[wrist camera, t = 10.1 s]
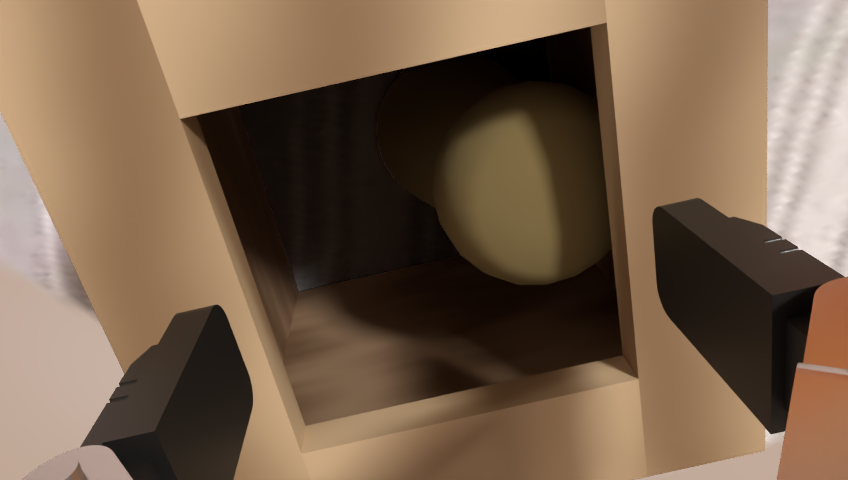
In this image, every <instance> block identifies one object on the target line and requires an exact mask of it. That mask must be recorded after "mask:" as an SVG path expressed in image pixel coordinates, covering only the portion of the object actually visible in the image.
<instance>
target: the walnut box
mask: <svg viewBox="0 0 848 480" xmlns="http://www.w3.org/2000/svg"><path fill="white" fill-rule="evenodd" d="M541 37H546V45H547V53H548V61H549V69H550V77H551V82H555V83H562V84H567V85H570V86H572V87H574V88H576V89H579V90H581V91H583V92H585V93H588V94H590V95H592V96H594V97H596V98H597V100H598V110H599V120H600V130H601V140H602V151H603V161H604V171H605V181H606V191H607V201H608V211H609V221H610V231H611V241H612V248H611V250H610V251H609V252H608V253H607V254H606V255H605V256H604V257H603V259H601V260H600V261H598V262H597V263H595V264H594V265H592V266H591V267H589V268H587V269H586V270H584V271H583V272H581V273H580V274H578V275H576V276H574V277H571V278H568V279H564V280H561V281H558V282H555V283H551V284H548V285H517V284H514V283H511V282H508V281H505V280H502V279H499V278H496V277H493V276H490V275H488V274H485V273H483V272H482V271H480V270H479V269H478V268H476V267H475V266H474V265H473V264H471V263H470V262H469V261H467V260H466V259H465V258H464V257H462V256H461V255H460V256H455V257H451V258H446V259H442V260H437V261H433V262H429V263H424V264H420V265H415V266H411V267H406V268H402V269H397V270H393V271H388V272H384V273H379V274H375V275H370V276H366V277H361V278H357V279H353V280H348V281H344V282H339V283H335V284H330V285H326V286H321V287H317V288H312V289H308V290H303V291H299V292H298V289H297V286H296V283H295V280H294V277H293V273H292V270H291V267H290V264H289V261H288V258H287V255H286V252H285V249H284V246H283V243H282V239H281V236H280V233H279V230H278V227H277V224H276V221H275V218H274V215H273V212H272V209H271V205H270V202H269V199H268V196H267V193H266V190H265V187H264V184H263V181H262V178H261V174H260V171H259V168H258V165H257V162H256V159H255V156H254V153H253V150H252V147H251V144H250V140H249V137H248V134H247V131H246V128H245V125H244V122H243V119H242V116H241V113H240V110H239V105H244V104H248V103H253V102H257V101H262V100H266V99H270V98H275V97H279V96H284V95H288V94H293V93H297V92H302V91H306V90H310V89H315V88H319V87H324V86H328V85H333V84H337V83H341V82H346V81H350V80H355V79H359V78H364V77H368V76H372V75H377V74H381V73H386V72H390V71H395V70H399V69H403V68H408V67H412V66H417V65H421V64H426V63H430V62H434V61H439V60H443V59H448V58H452V57H457V56H461V55H465V54H470V53H474V52H479V51H483V50H488V49H492V48H497V47H501V46H505V45H510V44H514V43H519V42H523V41H528V40H532V39H536V38H541ZM767 54H768V0H0V112H1V114H2V116H3V118H4V120H5V122H6V125H7V127H8V129H9V131H10V133H11V135H12V137H13V139H14V141H15V144H16V146H17V148H18V150H19V152H20V154H21V156H22V158H23V160H24V163H25V165H26V167H27V169H28V171H29V173H30V175H31V177H32V179H33V182H34V184H35V186H36V188H37V190H38V192H39V194H40V196H41V198H42V201H43V203H44V205H45V207H46V209H47V211H48V213H49V215H50V217H51V220H52V222H53V224H54V226H55V228H56V230H57V232H58V234H59V236H60V239H61V241H62V243H63V245H64V247H65V249H66V251H67V253H68V255H69V258H70V260H71V262H72V264H73V266H74V268H75V270H76V272H77V274H78V277H79V279H80V281H81V283H82V285H83V287H84V289H85V291H86V293H87V296H88V298H89V300H90V302H91V304H92V306H93V308H94V310H95V313H96V315H97V317H98V319H99V321H100V323H101V325H102V327H103V329H104V331H105V334H106V336H107V338H108V340H109V342H110V344H111V346H112V348H113V351H114V352H115V355H116V357H117V359H118V361H119V363H120V365H121V367H122V370H123V372H124V374H125V373H126V371H127V370H128V368H129V366H130V365H131V364H132V363H133V362H134V361H135V360H136V359H137V358H139V357H140V356H141V355H142V354H143V353H144V352H145V351H146V350H148V349H149V348H150V347H151V346H153V345H157V344H158V343H159V341H160V340H161V338H162V336H163V334H164V333H165V331H166V329H167V327H168V326H169V324H170V322H171V320H172V319H173V317H174V315H175V314H177V313H180V312H185V311H189V310H194V309H198V308H203V307H207V306H212V305H216V304H217V305H219V306H221V307H222V308H223V310H224V312H225V313H226V315H227V318H228V320H229V323H230V326H231V328H232V331H233V334H234V336H235V339H236V341H237V344H238V347H239V349H240V352H241V355H242V357H243V360H244V362H245V365H246V368H247V370H248V373H249V376H250V380H251V384H252V390H253V408H252V412H251V416H250V420H249V423H248V427H247V431H246V435H245V438H244V442H243V446H242V450H241V453H240V457H239V461H238V465H237V468H236V472H235V476H234V479H233V480H635V479H640V478H644V477H649V476H653V475H658V474H662V473H667V472H671V471H676V470H680V469H685V468H689V467H694V466H698V465H703V464H707V463H712V462H716V461H721V460H726V459H730V458H735V457H739V456H744V455H748V454H753V453H757V452H762V451H765V427H764V426H763V425H762V424H761V422H760V421H759V420H758V419H757V418H756V417H755V416H754V414H753V413H752V412H751V411H750V410H749V409H748V408H747V406H746V405H745V404H744V403H743V402H742V401H741V400H740V398H739V397H738V396H737V395H736V394H735V393H734V392H733V390H732V389H731V388H730V387H729V386H728V385H727V384H726V382H725V381H724V380H723V379H722V378H721V377H720V376H719V374H718V373H717V372H716V371H715V370H714V369H713V368H712V366H711V365H710V364H709V363H708V362H707V361H706V360H705V358H704V357H703V356H702V355H701V354H700V353H699V352H698V350H697V349H696V348H695V347H694V346H693V345H692V344H691V342H690V341H689V340H688V339H687V338H686V337H685V336H684V334H683V333H682V332H681V331H680V330H679V329H678V328H677V326H676V325H675V324H674V323H673V322H672V321H671V320H670V318H669V317H668V316H667V314H666V313H665V311H664V309H663V306H662V304H661V301H660V298H659V294H658V290H657V282H656V268H655V254H654V240H653V225H652V216H653V212H654V209H655V208H656V207H658V206H663V205H667V204H672V203H676V202H681V201H685V200H690V199H694V198H700V199H702V200H703V201H705V202H706V203H708V204H709V205H711V206H712V207H714V208H715V209H717V210H718V211H720V212H721V213H723V214H724V215H726V216H727V217H729V218H730V217H738V218H741V219H745V220H748V221H752V222H755V223H759V224H762V225H764V226H765V227H766V214H767Z"/></svg>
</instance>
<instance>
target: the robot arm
mask: <svg viewBox="0 0 848 480" xmlns="http://www.w3.org/2000/svg"><path fill="white" fill-rule="evenodd" d="M652 225H653V240H654V254H655V268H656V282H657V290H658V294H659V298H660V301H661V304H662V306H663V309H664V311H665V313H666V314H667V316H668V317H669V318H670V320H671V321H672V322H673V323H674V324H675V325H676V326H677V328H678V329H679V330H680V331H681V332H682V333H683V334H684V336H685V337H686V338H687V339H688V340H689V341H690V342H691V344H692V345H693V346H694V347H695V348H696V349H697V350H698V352H699V353H700V354H701V355H702V356H703V357H704V358H705V360H706V361H707V362H708V363H709V364H710V365H711V366H712V368H713V369H714V370H715V371H716V372H717V373H718V374H719V376H720V377H721V378H722V379H723V380H724V381H725V382H726V384H727V385H728V386H729V387H730V388H731V389H732V390H733V392H734V393H735V394H736V395H737V396H738V397H739V398H740V400H741V401H742V402H743V403H744V404H745V405H746V406H747V408H748V409H749V410H750V411H751V412H752V413H753V414H754V416H755V417H756V418H757V419H758V420H759V421H760V422H761V424H762V425H763V426H764V427H765V428H766V429H767V430H768V432H769V433H770V434H774V433H779V432H783V431H785V435H784V441H783V447H782V452H781V458H780V464H779V470H778V475H777V480H848V277H844V276H843V275H841V274H839V273H838V272H836V271H835V270H833V269H832V268H830V267H828V266H827V265H825V264H824V263H822V262H820V261H819V260H817V259H816V258H814V257H813V256H811V255H809V254H808V253H806V252H805V251H803V250H798V247H797V246H795V245H794V244H792V243H791V242H789V241H787V240H786V239H785V240H782V237H781V236H780V235H778V234H776V233H775V232H773V231H772V230H770V229H769V228H767V227H765V226H764V225H762V224H759V223H755V222H752V221H748V220H745V219H741V218H738V217H730V218H729V217H727V216H726V215H724V214H723V213H721V212H720V211H718V210H717V209H715V208H714V207H712V206H711V205H709V204H708V203H706V202H705V201H703V200H702V199H700V198H694V199H690V200H685V201H681V202H676V203H672V204H667V205H663V206H658V207H656V208H655V209H654V212H653V216H652ZM119 385H120V387H117V388H116V389H115V391H114V393H113V394H112V396H111V398H110V399H109V400H110V403H107V404H106V406H105V408H104V409H103V411H102V412H101V414H100V416H99V417H98V419H97V420H96V422H95V424H94V425H93V427H92V429H91V431H90V432H89V434H88V435H87V437H86V438H85V440H84V442H83V443H82V445H81V447H80V448H76V449H73V450H70V451H67V452H65V453H63V454H60V455H58V456H56V457H54V458H52V459H50V460H48V461H47V462H45V463H43V464H42V465H40V466H39V467H37V468H36V469H34V470H33V471H32V472H30V473H29V474H28V475H27V476H25V477H24V478H23V479H22V480H233V479H234V476H235V472H236V468H237V465H238V461H239V457H240V453H241V450H242V446H243V442H244V438H245V435H246V431H247V427H248V423H249V420H250V416H251V412H252V408H253V390H252V384H251V380H250V376H249V373H248V370H247V368H246V365H245V362H244V360H243V357H242V355H241V352H240V349H239V347H238V344H237V341H236V339H235V336H234V334H233V331H232V328H231V326H230V323H229V320H228V318H227V315H226V313H225V312H224V310H223V308H222V307H221V306H219V305H217V304H216V305H212V306H207V307H203V308H198V309H194V310H189V311H185V312H180V313H177V314H175V315H174V317H173V319H172V320H171V322H170V324H169V326H168V327H167V329H166V331H165V333H164V334H163V336H162V338H161V340H160V341H159V343H158V344H157V345H153V346H151V347H150V348H149V349H148V350H146V351H145V352H144V353H143V354H142V355H141V356H140V357H139V358H137V359H136V360H135V361H134V362H133V363H132V364H131V365H130V366H129V368H128V370H127V371H126V373H125V375H124V377H123V378H122V379H121V381H120V383H119Z"/></svg>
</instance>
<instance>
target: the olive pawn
mask: <svg viewBox="0 0 848 480" xmlns="http://www.w3.org/2000/svg"><path fill="white" fill-rule="evenodd" d="M377 142H378V146H379V149H380V153H381V157H382V161H383V163H384V164H385V166H386V167H387V169H388V170H389V172H390V174H391V175H392V177H393V178H394V180H395V181H396V182H397V183H398V184H400V185H401V186H402V187H403V188H405V189H406V190H407V191H408V192H410V193H411V194H412V195H414V196H415V197H417V198H419V199H420V200H422V201H424V202H425V203H427V204H429V205H430V206H432V207H434V208H435V209H436V210H437V214H438V218H439V222H440V224H441V226H442V227H443V229H444V231H445V232H446V234H447V235H448V237H449V238H450V240H451V241H452V243H453V245H454V246H455V248H456V249H457V251H458V252H459V254H460V255H461V256H462V257H464V258H465V259H466V260H467V261H469V262H470V263H471V264H473V265H474V266H475V267H476V268H478V269H479V270H480V271H482V272H483V273H485V274H488V275H490V276H493V277H496V278H499V279H502V280H505V281H508V282H511V283H514V284H517V285H548V284H551V283H555V282H558V281H561V280H564V279H568V278H571V277H574V276H576V275H578V274H580V273H581V272H583V271H584V270H586V269H587V268H589V267H591V266H592V265H594V264H595V263H597V262H598V261H600V260H601V259H603V257H604V256H605V255H606V254H607V253H608V252H609V251H610V250H611V248H612V241H611V231H610V221H609V211H608V201H607V191H606V181H605V171H604V161H603V151H602V140H601V130H600V120H599V110H598V100H597V98H596V97H594V96H592V95H590V94H588V93H585V92H583V91H581V90H579V89H576V88H574V87H572V86H570V85H567V84H562V83H555V82H540V81H524V82H520V81H519V80H518V79H516V78H515V77H514V76H512V75H511V74H510V73H509V72H507V71H506V70H505V69H503V68H502V67H501V66H500V65H498V64H497V63H496V62H494V61H492V60H490V59H488V58H486V57H483V56H481V55H479V54H476V53H470V54H465V55H461V56H457V57H452V58H448V59H443V60H439V61H434V62H430V63H426V64H421V65H417V66H412V67H408V68H405V69H403V70H402V72H401V73H400V74H399V75H398V77H397V78H396V79H395V80H394V82H393V83H392V84H391V85H390V87H389V88H388V89H387V91H386V94H385V96H384V99H383V101H382V104H381V107H380V109H379V112H378V121H377Z"/></svg>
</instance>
